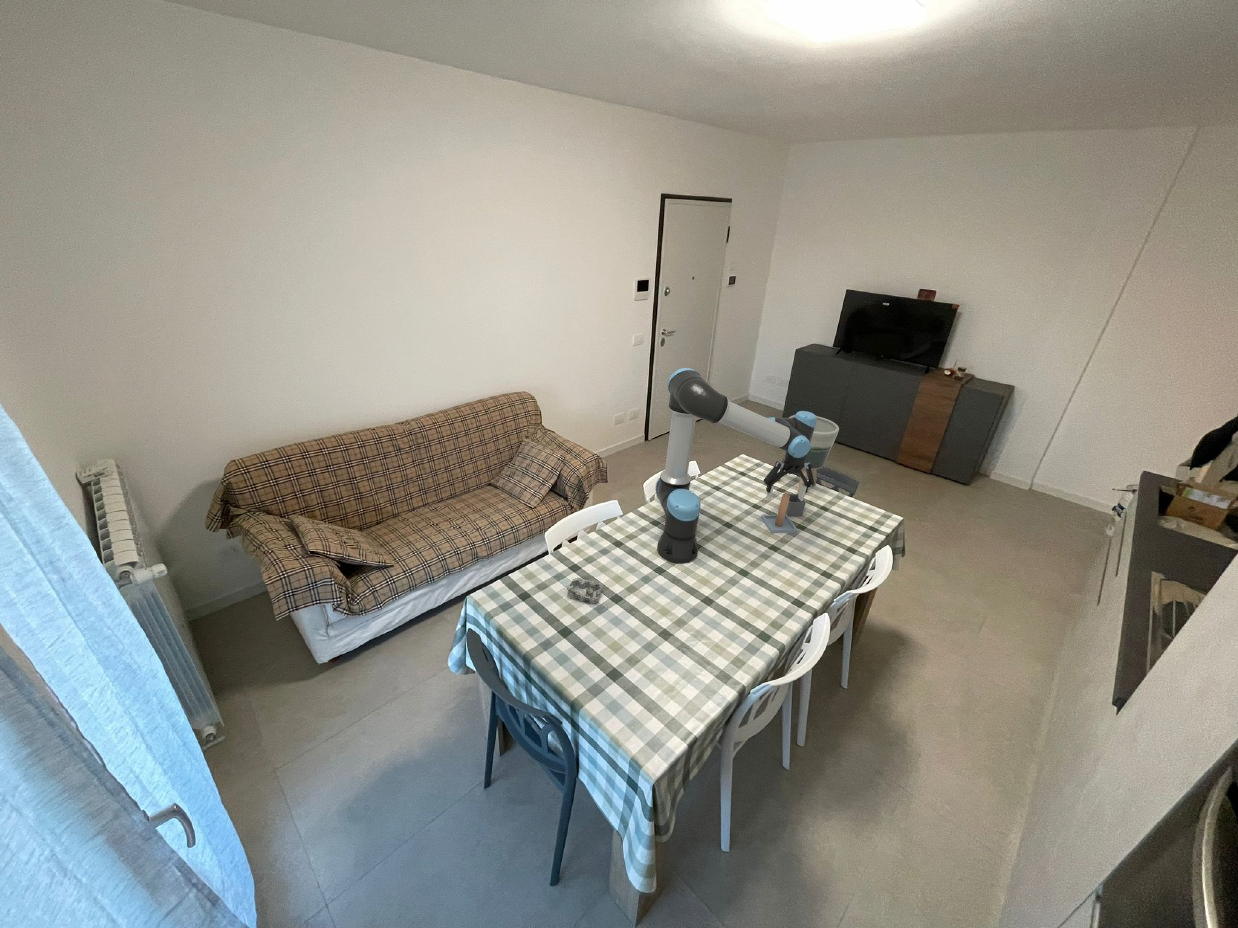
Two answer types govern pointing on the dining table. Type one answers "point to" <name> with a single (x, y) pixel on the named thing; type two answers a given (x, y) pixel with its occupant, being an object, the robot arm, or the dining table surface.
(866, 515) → the dining table surface
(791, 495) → the pen pot
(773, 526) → the tray
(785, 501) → the dowel
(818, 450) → the planter
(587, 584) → the egg carton
